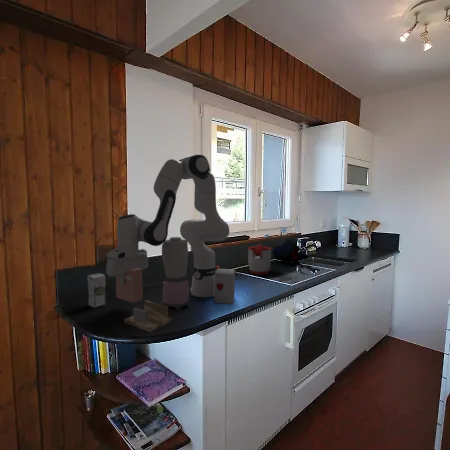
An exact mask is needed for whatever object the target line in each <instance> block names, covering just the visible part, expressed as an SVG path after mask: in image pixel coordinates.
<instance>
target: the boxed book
mask: <svg viewBox="0 0 450 450" xmlns="http://www.w3.org/2000/svg"><path fill="white" fill-rule="evenodd" d="M123 279H125V280H126V281H125V282H126V283H125V284H121V283H120V279H119V278H118V276H115V293H116V294H115V296H116V298H118V299H119V300H120V299H121V300H123V301H127V302H129V303H133V304H134V303H135V304H136V303H138V302H140V301H143V300H144V296H143V295H144V293H143V291H144V290H143V289H144V288H143V287H144V285H143V284H144V283H143V282H144V281H143V269H141V268H132V269H128V270H127V273H126V274H123Z"/></svg>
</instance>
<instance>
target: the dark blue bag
mask: <svg viewBox="0 0 450 450" xmlns="http://www.w3.org/2000/svg"><path fill="white" fill-rule="evenodd" d="M300 251H301V248H300V245H298V243H297V242H296V241H294V240H290V239H289V240H286V241H285V242H283V243H282V244H280V245H276V246H275V247H274V249H273V250H272V254H273V256H274V259H276V261H280V262H283V263H285V264H286V265H287V266H288V267H290V266H291V264H295V265H297V266H301V263H300V261H302V260H308V258H309V255H307V254H306V253H302V252H300Z"/></svg>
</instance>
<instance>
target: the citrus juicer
mask: <svg viewBox="0 0 450 450" xmlns="http://www.w3.org/2000/svg"><path fill="white" fill-rule="evenodd" d="M247 253H248V254H247V255H248V260H247V261H248V262H247V263H248V267H249V271H250V273H251V274H253V275H263V276H264V275H267V274H268V273H269V272H270V268H271V265H272V264H271V263H272V262H271V261H272V247H270V246H264V245H262V244H261V243H258V244H257V245H254V246H253V245H252V246H249V247H248V252H247Z"/></svg>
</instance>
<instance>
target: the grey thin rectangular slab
mask: <svg viewBox="0 0 450 450" xmlns="http://www.w3.org/2000/svg"><path fill="white" fill-rule="evenodd" d="M132 316H133V320H134V321H137V322H139V323H142V324H145V325H146V324H148V318H147V311H145V310H144V309H142V308H139V307H133V308H132Z"/></svg>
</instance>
